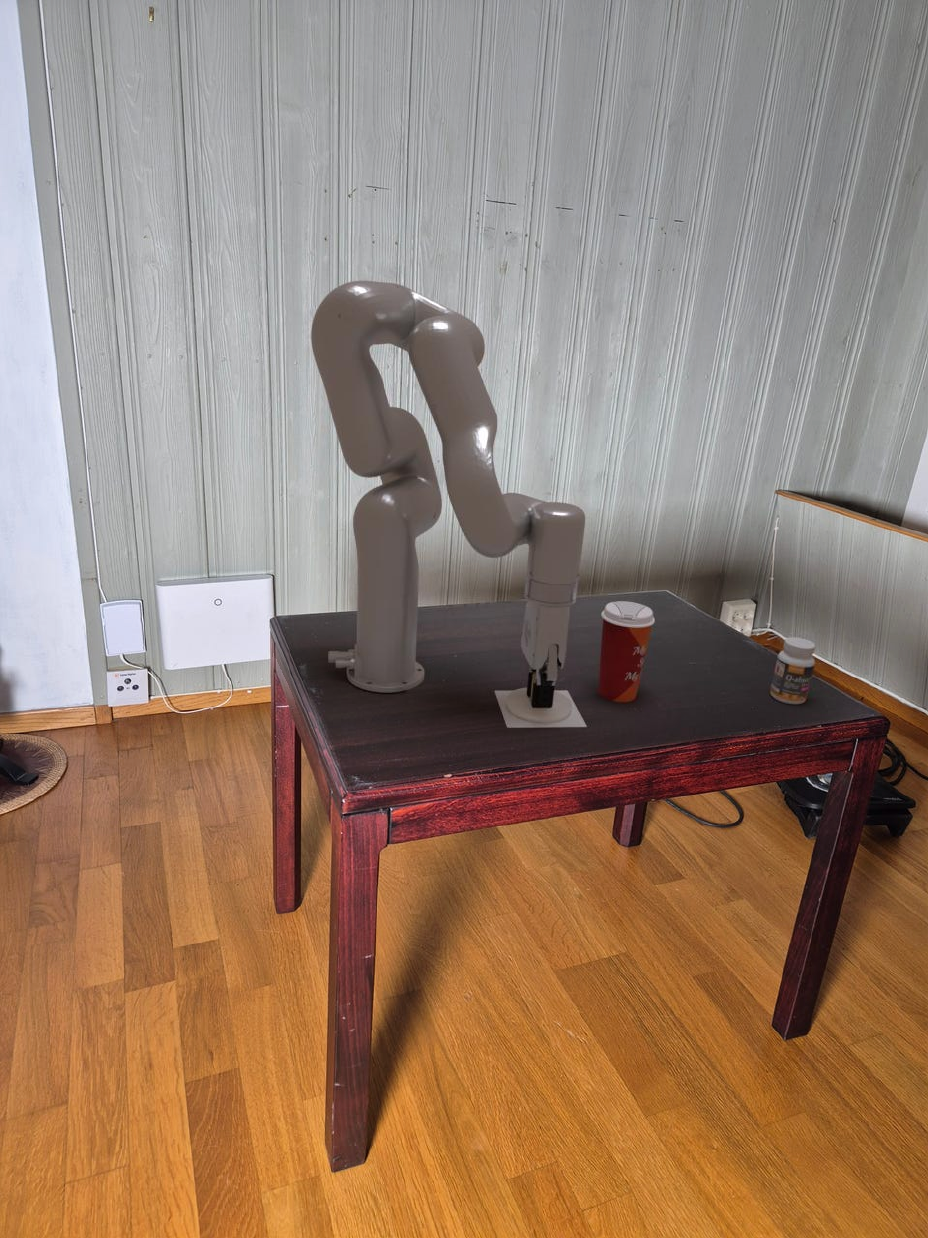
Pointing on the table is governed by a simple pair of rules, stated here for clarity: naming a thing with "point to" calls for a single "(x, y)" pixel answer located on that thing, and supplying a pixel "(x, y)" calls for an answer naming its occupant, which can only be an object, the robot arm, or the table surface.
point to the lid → (522, 708)
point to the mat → (516, 722)
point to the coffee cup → (623, 649)
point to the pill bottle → (793, 671)
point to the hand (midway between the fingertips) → (539, 700)
